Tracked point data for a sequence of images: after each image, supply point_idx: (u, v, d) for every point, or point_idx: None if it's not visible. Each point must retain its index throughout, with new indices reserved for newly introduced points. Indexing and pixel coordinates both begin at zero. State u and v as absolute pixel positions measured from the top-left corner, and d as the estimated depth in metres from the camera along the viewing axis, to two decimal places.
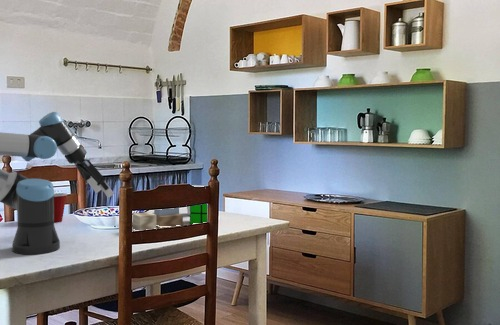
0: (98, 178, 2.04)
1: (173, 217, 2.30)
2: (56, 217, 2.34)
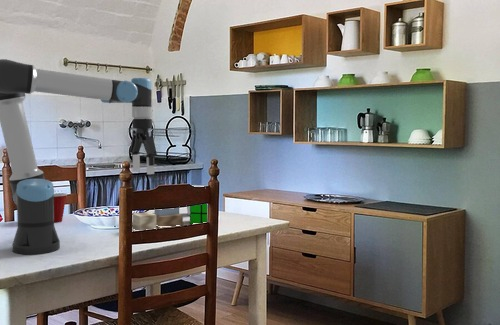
0: (151, 150, 2.09)
1: (173, 217, 2.30)
2: (56, 217, 2.34)
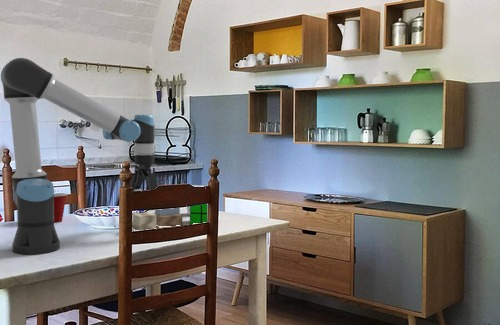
0: (153, 187, 2.11)
1: (173, 217, 2.30)
2: (56, 217, 2.34)
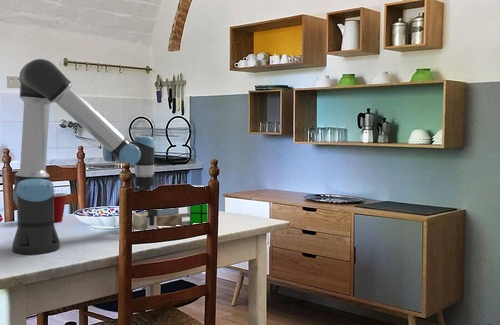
0: (152, 211, 2.13)
1: (172, 217, 2.30)
2: (56, 217, 2.34)
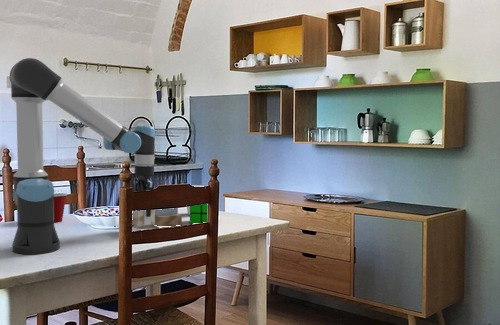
0: None
1: (172, 217, 2.29)
2: (56, 217, 2.34)
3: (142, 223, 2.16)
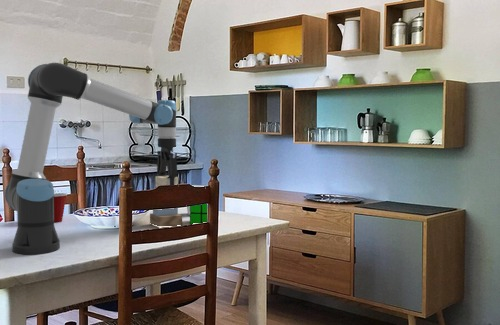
0: (173, 172, 2.26)
1: (172, 217, 2.29)
2: (56, 217, 2.34)
3: None
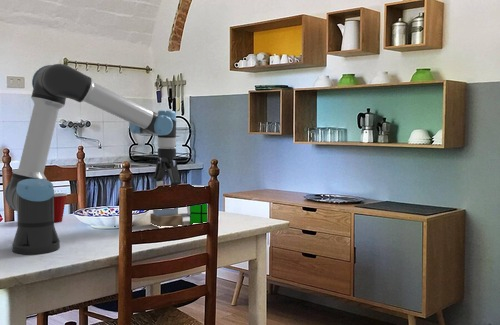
0: (175, 179, 2.24)
1: (173, 217, 2.29)
2: (56, 217, 2.34)
3: None
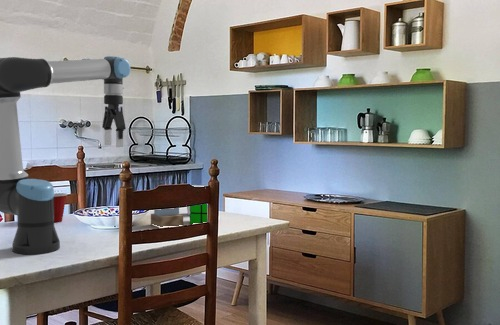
0: (120, 124, 2.22)
1: (173, 218, 2.29)
2: (56, 217, 2.34)
3: None
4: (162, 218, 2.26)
